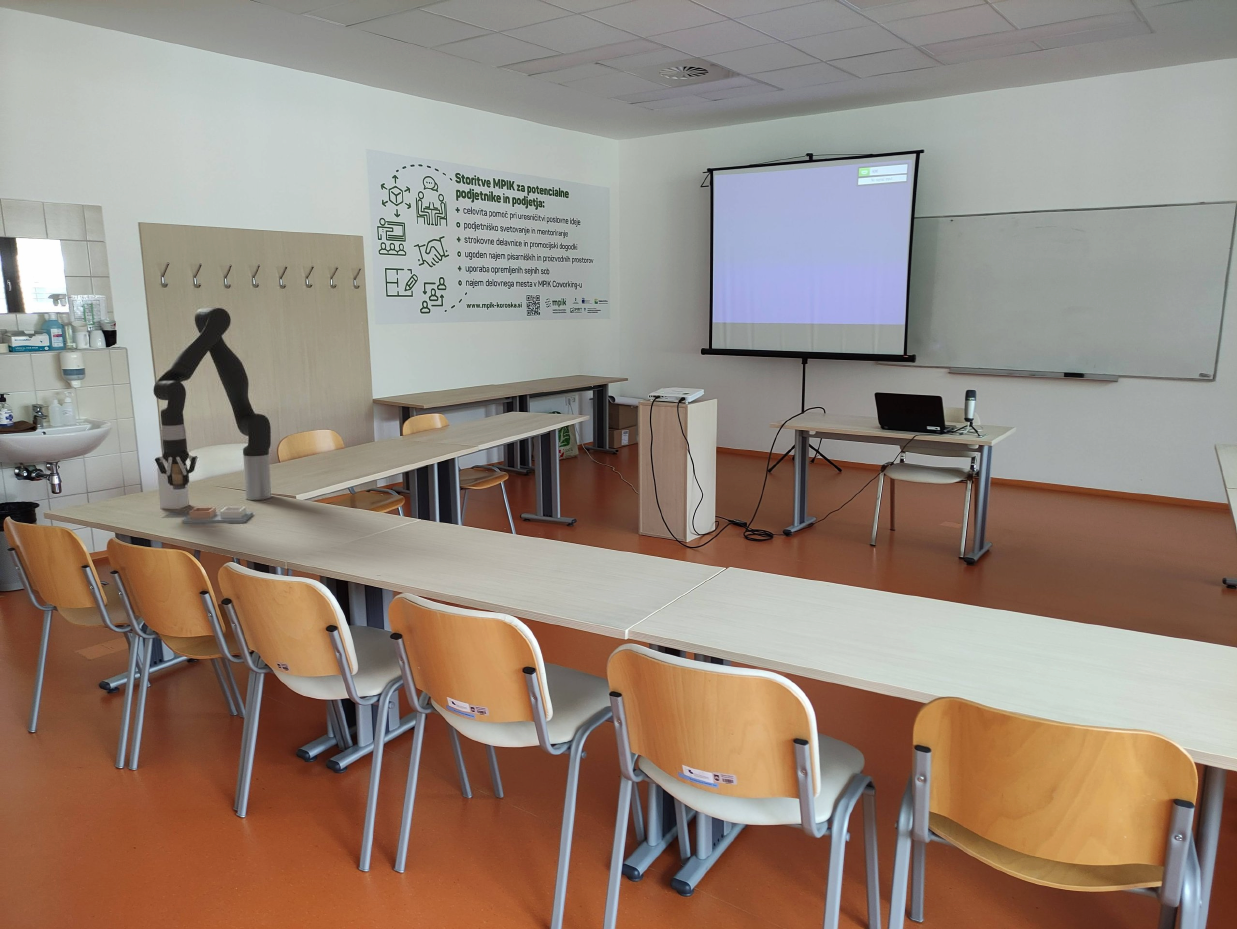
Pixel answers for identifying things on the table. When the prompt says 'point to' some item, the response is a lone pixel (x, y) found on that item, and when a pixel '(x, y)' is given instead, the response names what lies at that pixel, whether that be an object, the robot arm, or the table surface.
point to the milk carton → (171, 493)
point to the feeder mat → (177, 514)
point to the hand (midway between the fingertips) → (178, 484)
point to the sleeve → (177, 477)
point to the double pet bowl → (218, 515)
